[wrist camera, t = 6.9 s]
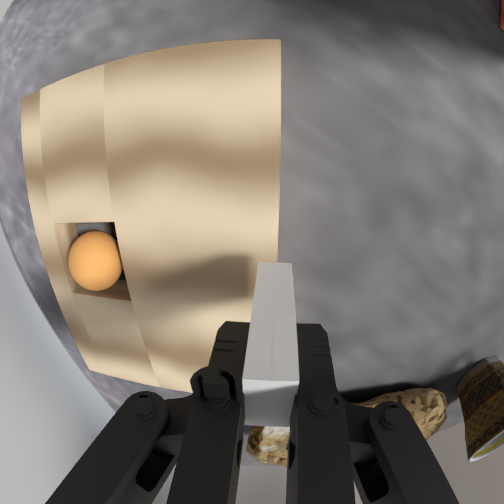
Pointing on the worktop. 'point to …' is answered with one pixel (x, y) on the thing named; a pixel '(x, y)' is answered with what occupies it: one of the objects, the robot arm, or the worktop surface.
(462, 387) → the ceramic cup
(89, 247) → the ball
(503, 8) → the cracker box
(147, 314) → the board
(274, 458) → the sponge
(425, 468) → the robot arm
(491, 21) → the worktop surface
